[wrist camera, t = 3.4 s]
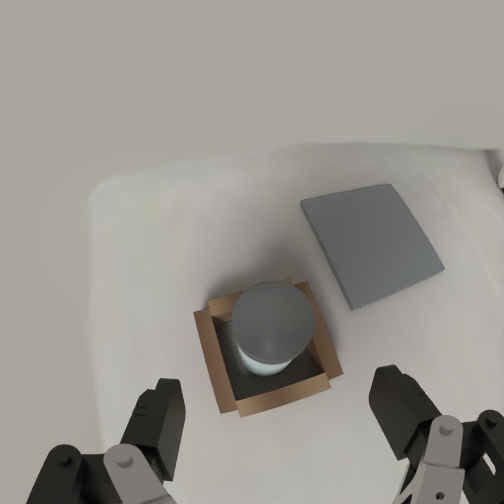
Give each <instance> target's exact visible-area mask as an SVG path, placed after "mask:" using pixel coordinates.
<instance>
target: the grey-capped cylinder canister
mask: <svg viewBox="0 0 504 504" xmlns="http://www.w3.org/2000/svg"><path fill="white" fill-rule="evenodd" d="M315 327H316V316H315V311H314V308H313V306H312V304H311V302H310V300H309V299H308V297H307V296H306V295H305V294H304V293H303V292H302V291H301V290H299V289H298V288H296V287H294V286H293V285H290V284H288V283H284V282H279V281H267V282H262V283H259V284H256V285H254V286H252V287H250V288H249V289H247V290H246V291H245V292H244V293H243V294H242V295H241V296H240V297H239V299H238V300H237V302H236V304H235V306H234V309H233V313H232V328H233V333H234V337H235V340H236V342H237V344H238V349H239V354H240V359H241V362H242V364H243V365H244V367H245V368H246V369H247V370H248V371H249V372H251V373H252V374H254V375H257V376H260V377H270V376H274V375H277V374H278V373H280V372H282V371H283V370H284V369H285V368H286V367H287V365H288V364H289V363H290V362H291V361H292V360H293V359H294V358H295V357H296V356H298V355H299V354H300V353H301V352H302V351H303V350H304V349H305V347H306V346H307V345H308V344H309V342H310V341H311V339H312V337H313V334H314V331H315Z"/></svg>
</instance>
